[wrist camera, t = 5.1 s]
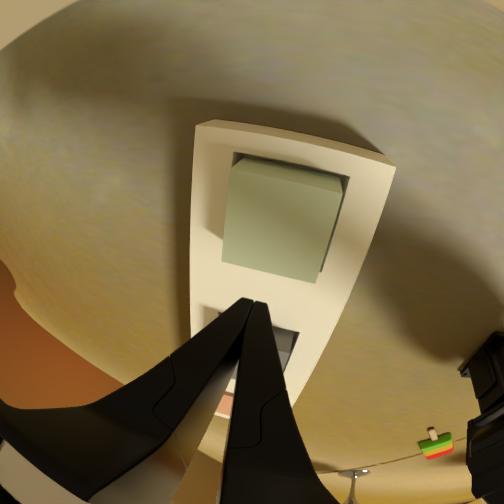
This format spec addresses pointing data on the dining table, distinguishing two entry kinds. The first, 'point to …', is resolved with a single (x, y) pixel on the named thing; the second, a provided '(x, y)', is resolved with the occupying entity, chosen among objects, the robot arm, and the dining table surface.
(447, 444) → the popsicle
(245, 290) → the cream block puzzle board
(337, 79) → the dining table surface
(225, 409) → the terracotta key
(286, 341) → the charcoal key
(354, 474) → the wine glass
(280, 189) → the sage key
